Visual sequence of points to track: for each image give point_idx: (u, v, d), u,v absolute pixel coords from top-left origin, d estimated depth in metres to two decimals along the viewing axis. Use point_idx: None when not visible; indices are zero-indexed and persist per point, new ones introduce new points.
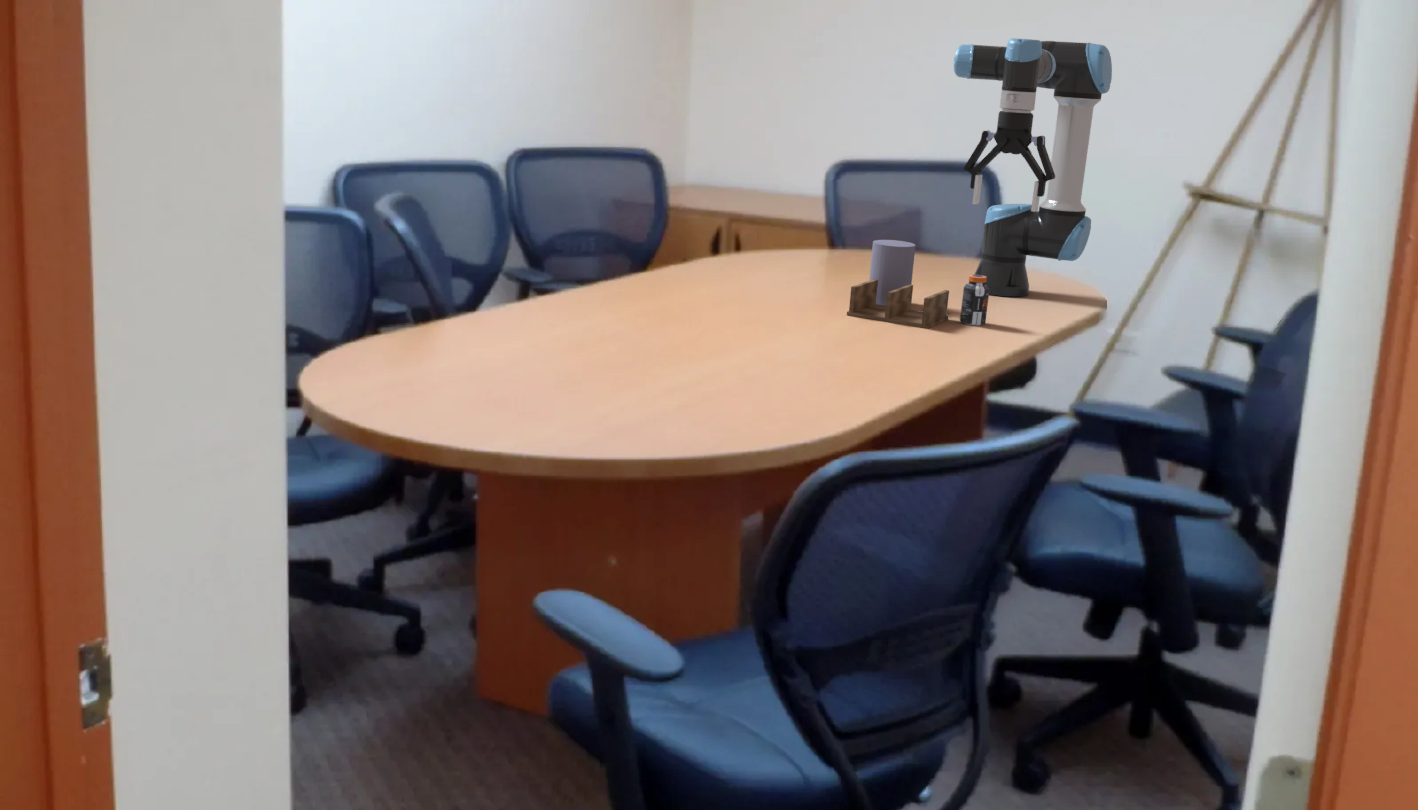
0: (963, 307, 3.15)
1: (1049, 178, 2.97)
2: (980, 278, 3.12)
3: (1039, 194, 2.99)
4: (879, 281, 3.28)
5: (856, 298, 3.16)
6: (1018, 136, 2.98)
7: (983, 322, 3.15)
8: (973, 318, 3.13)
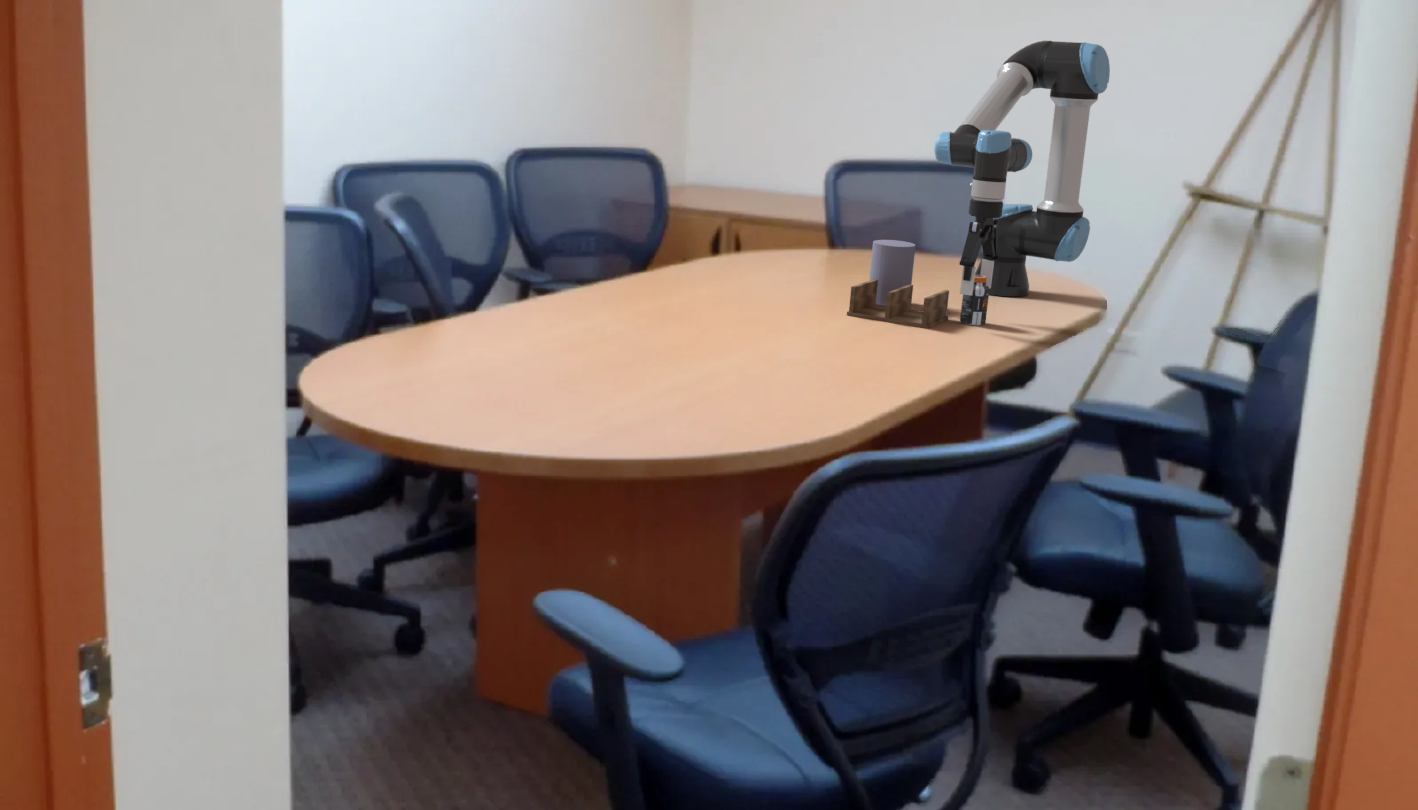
0: (963, 307, 3.15)
1: None
2: (980, 278, 3.12)
3: None
4: (879, 281, 3.28)
5: (856, 298, 3.16)
6: None
7: (983, 322, 3.15)
8: (973, 318, 3.13)
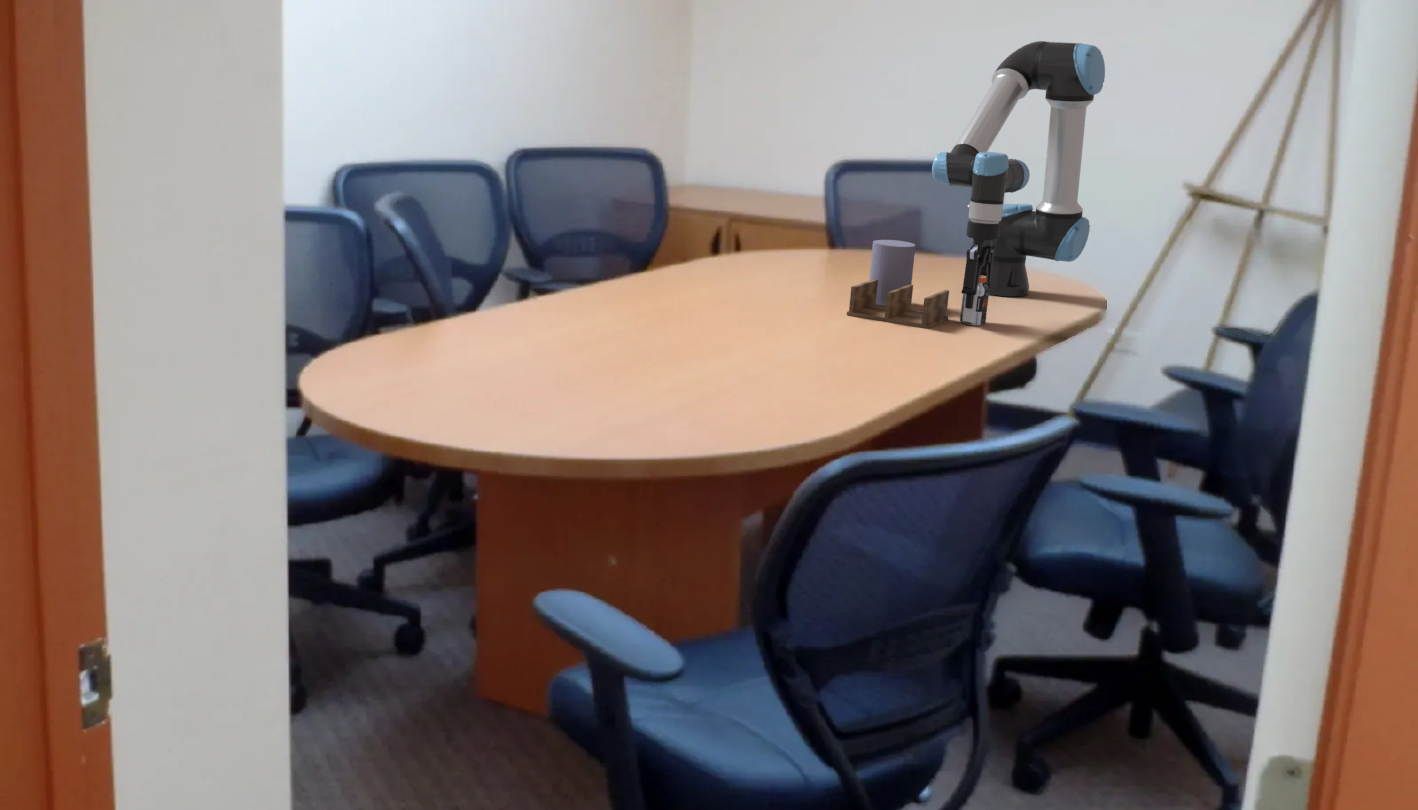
0: (963, 307, 3.15)
1: None
2: (980, 278, 3.12)
3: None
4: (879, 281, 3.28)
5: (856, 298, 3.16)
6: None
7: (983, 322, 3.15)
8: None
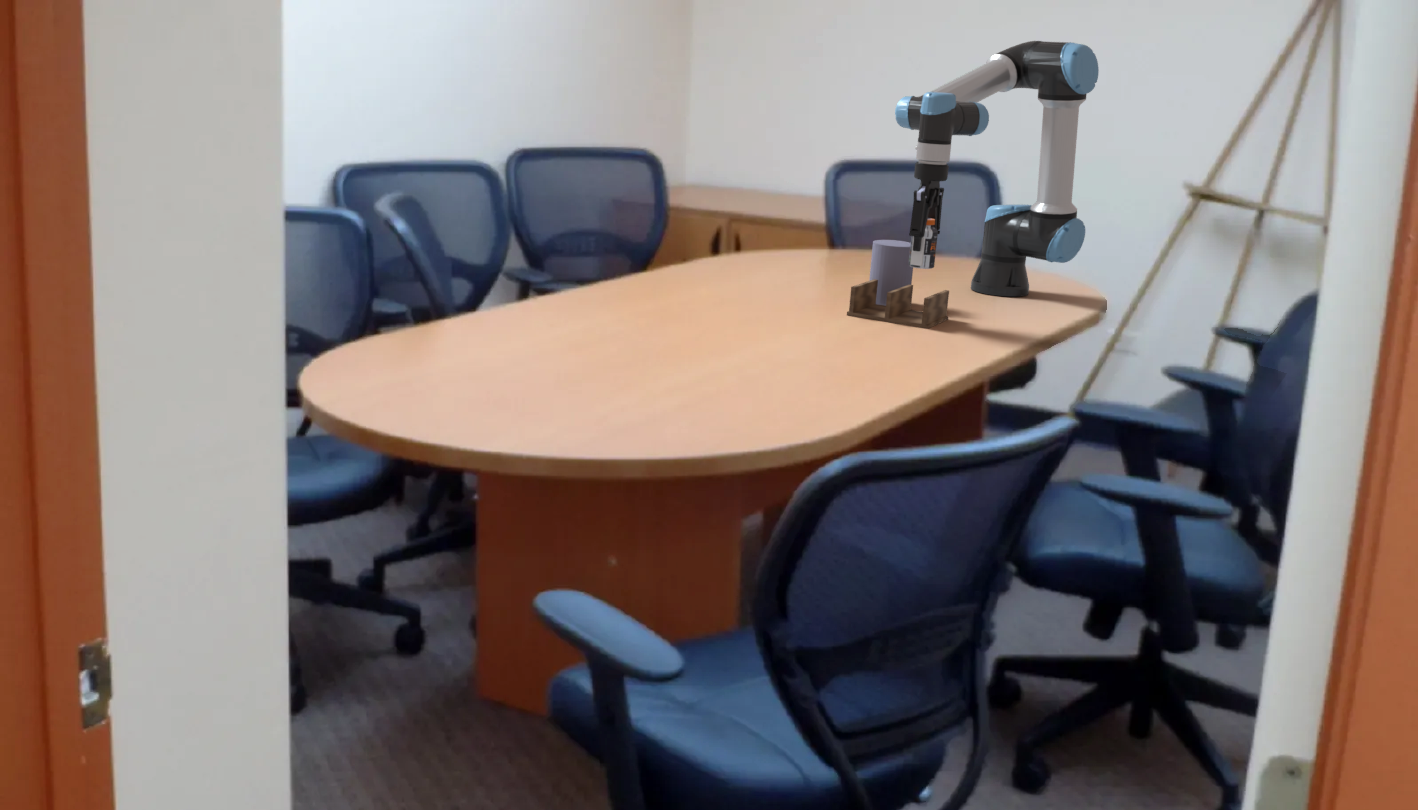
0: (911, 250, 3.11)
1: None
2: (928, 220, 3.08)
3: None
4: (879, 281, 3.28)
5: (856, 298, 3.16)
6: None
7: (931, 265, 3.10)
8: None
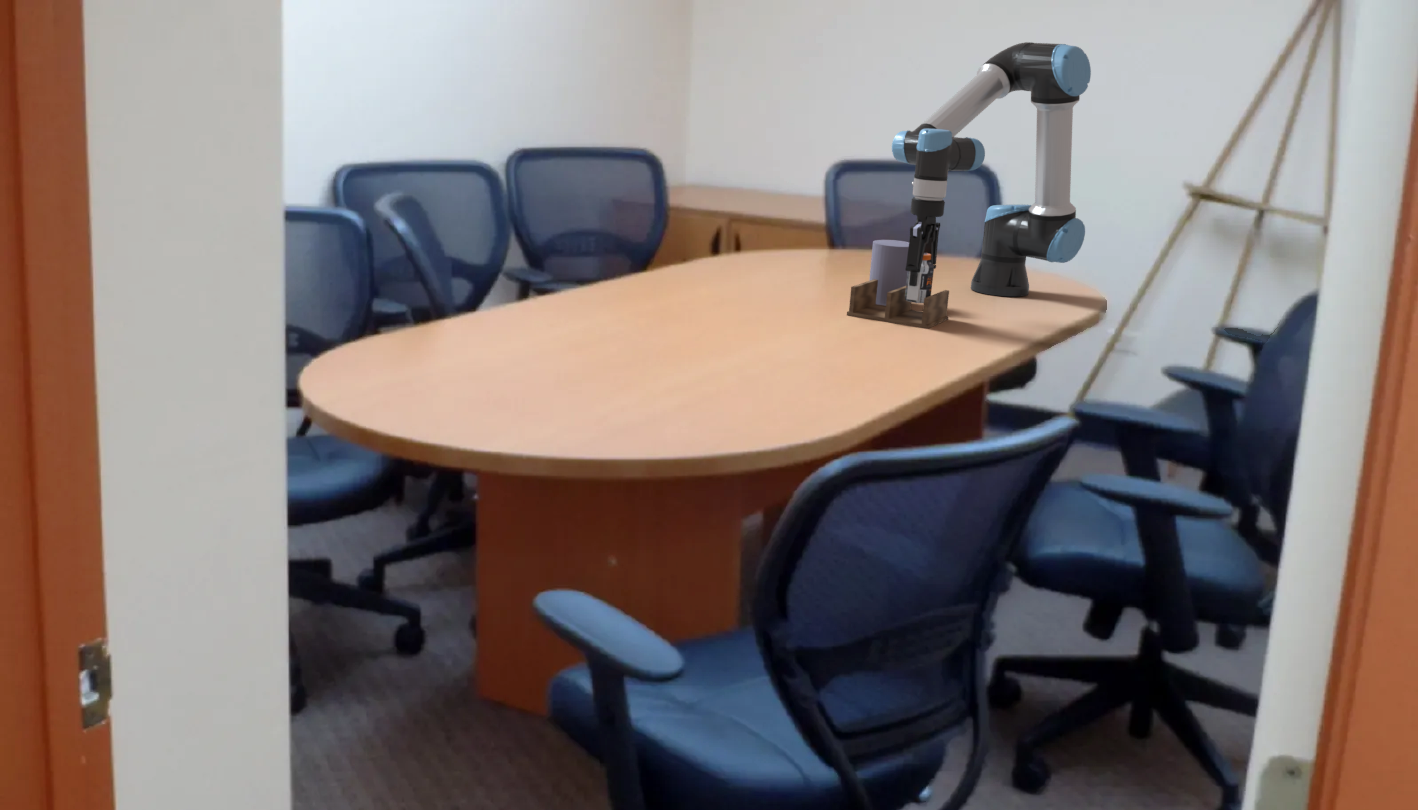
0: (907, 284, 3.13)
1: None
2: (924, 255, 3.10)
3: None
4: (879, 281, 3.28)
5: (856, 298, 3.16)
6: None
7: None
8: None
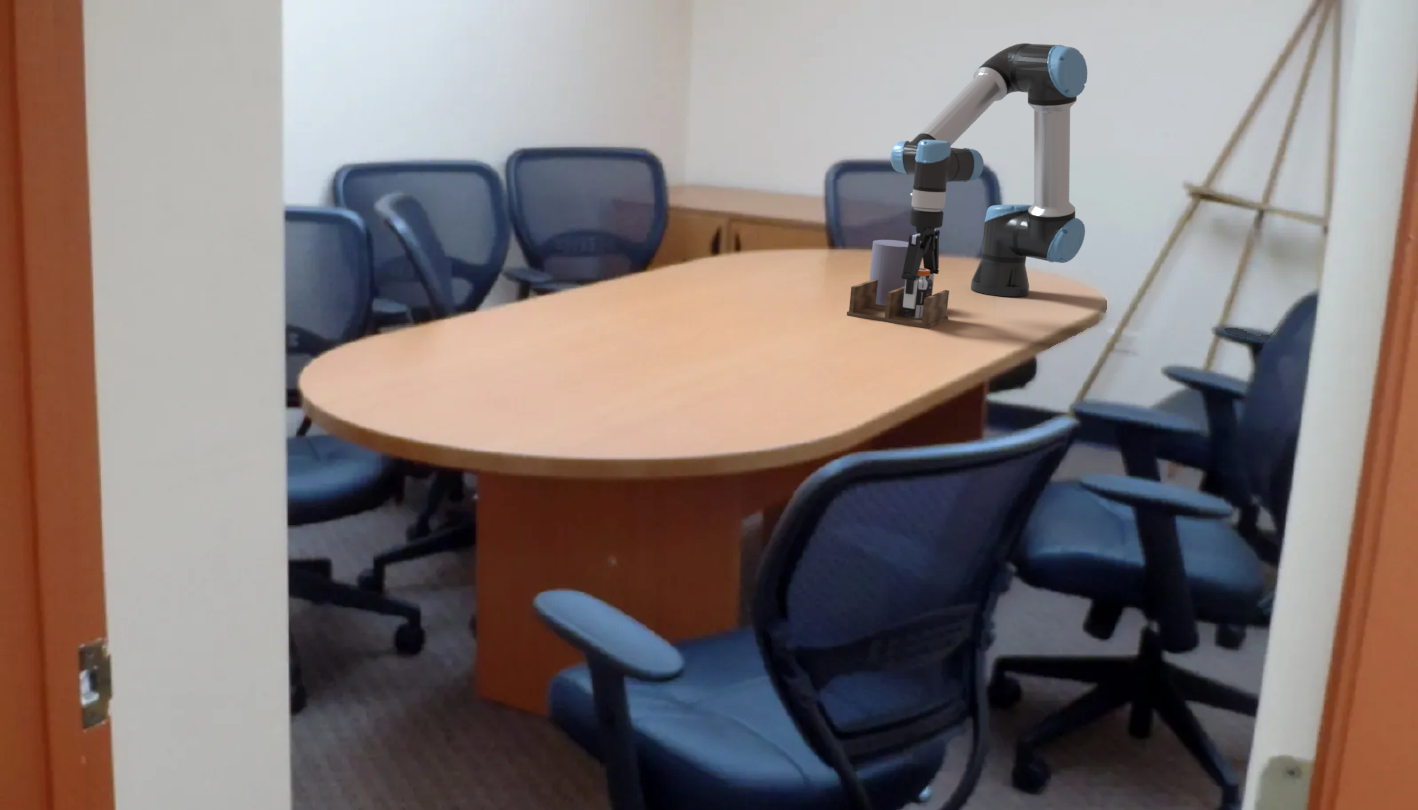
0: None
1: None
2: (923, 271, 3.11)
3: None
4: (879, 281, 3.28)
5: (856, 298, 3.16)
6: None
7: None
8: (916, 312, 3.13)
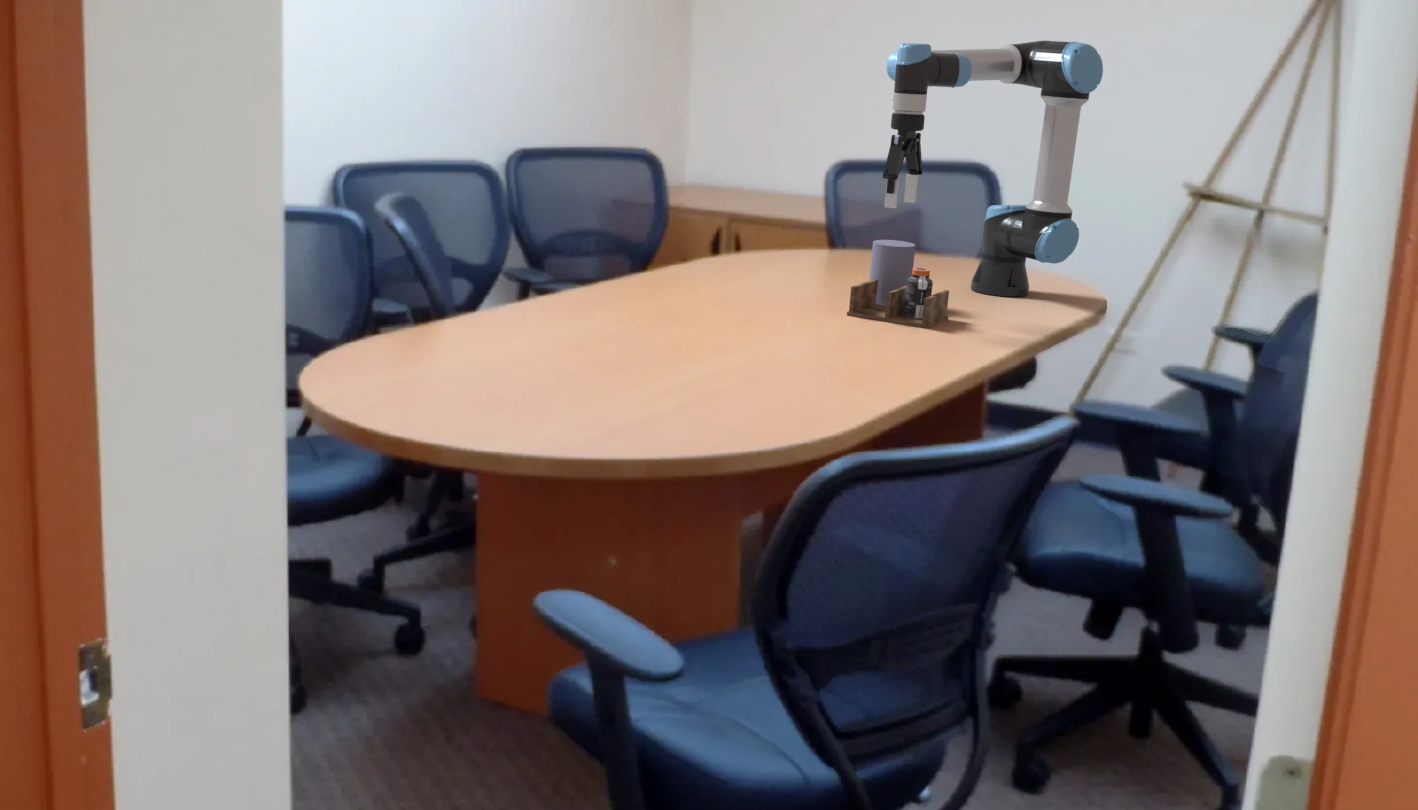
0: (906, 300, 3.14)
1: None
2: (923, 271, 3.11)
3: None
4: (879, 281, 3.28)
5: (856, 298, 3.16)
6: None
7: None
8: (916, 312, 3.13)
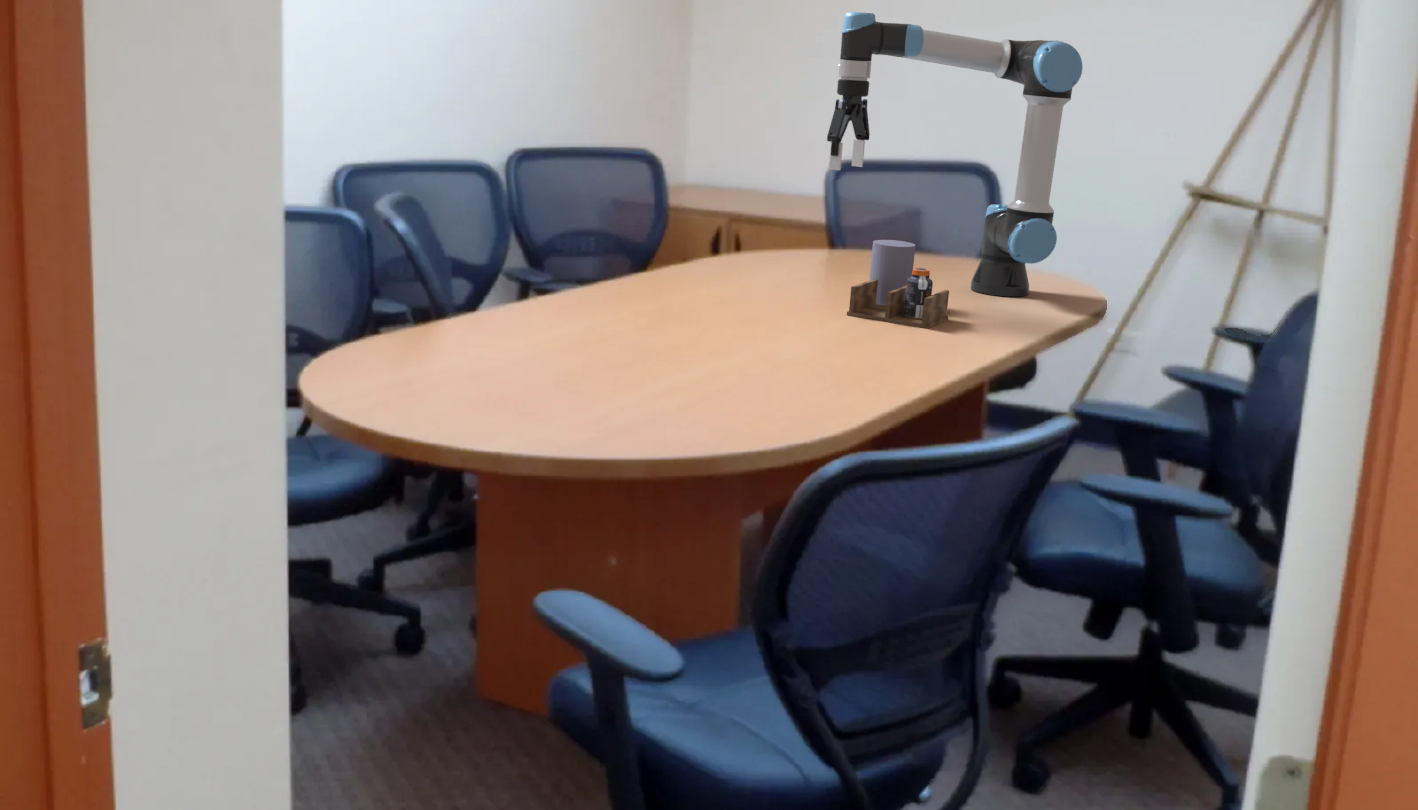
0: (906, 300, 3.14)
1: None
2: (923, 271, 3.11)
3: None
4: (879, 281, 3.28)
5: (856, 298, 3.16)
6: None
7: None
8: (916, 312, 3.13)
